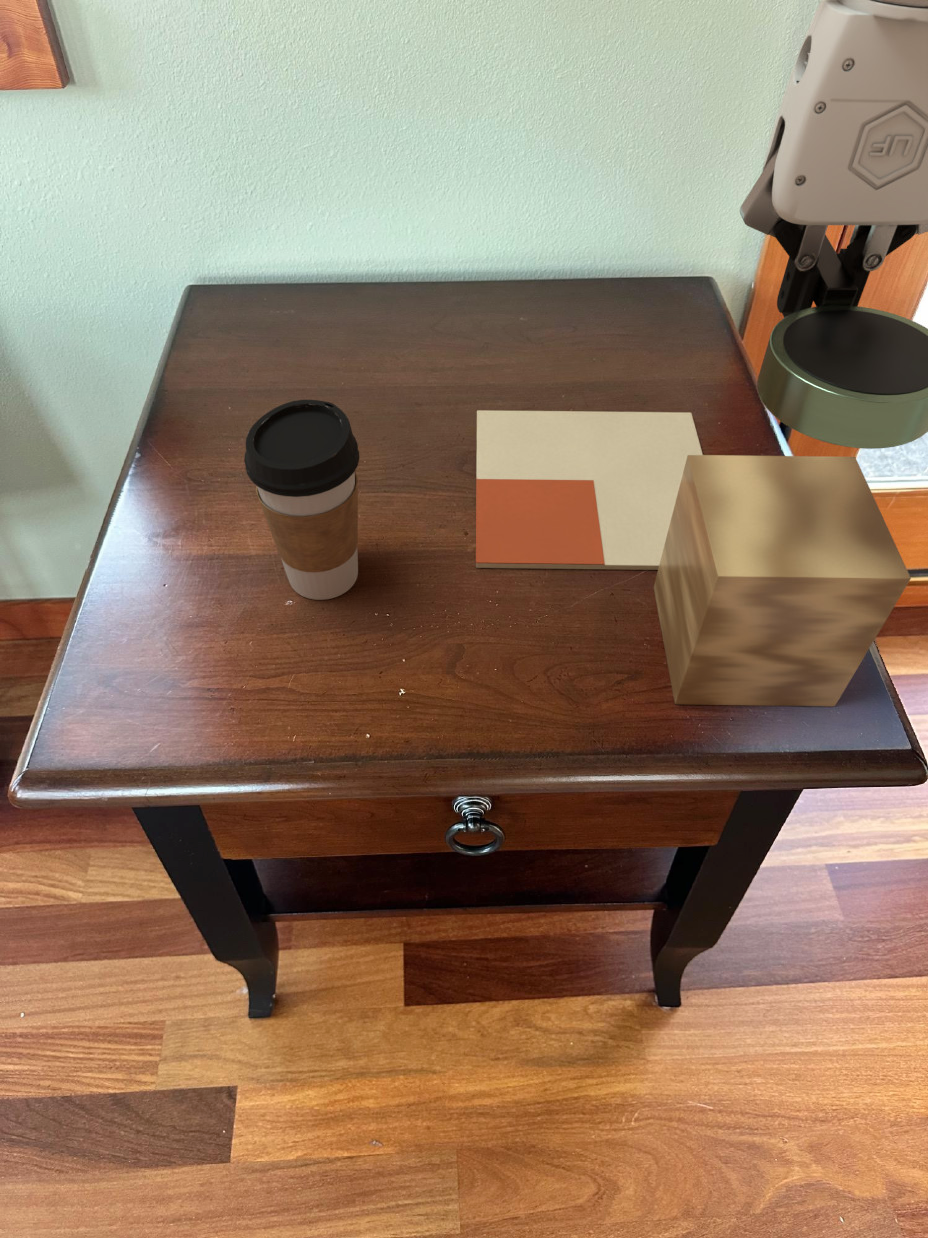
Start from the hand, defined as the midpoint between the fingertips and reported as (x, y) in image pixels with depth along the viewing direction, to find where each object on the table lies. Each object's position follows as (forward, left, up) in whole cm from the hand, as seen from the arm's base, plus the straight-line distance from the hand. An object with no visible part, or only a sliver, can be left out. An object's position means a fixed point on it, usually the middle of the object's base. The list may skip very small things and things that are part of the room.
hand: (811, 319), depth 54 cm
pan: (0, +4, 0) cm, 4 cm away
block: (0, +8, -24) cm, 25 cm away
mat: (+10, -11, -24) cm, 28 cm away
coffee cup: (+34, +1, -24) cm, 42 cm away
